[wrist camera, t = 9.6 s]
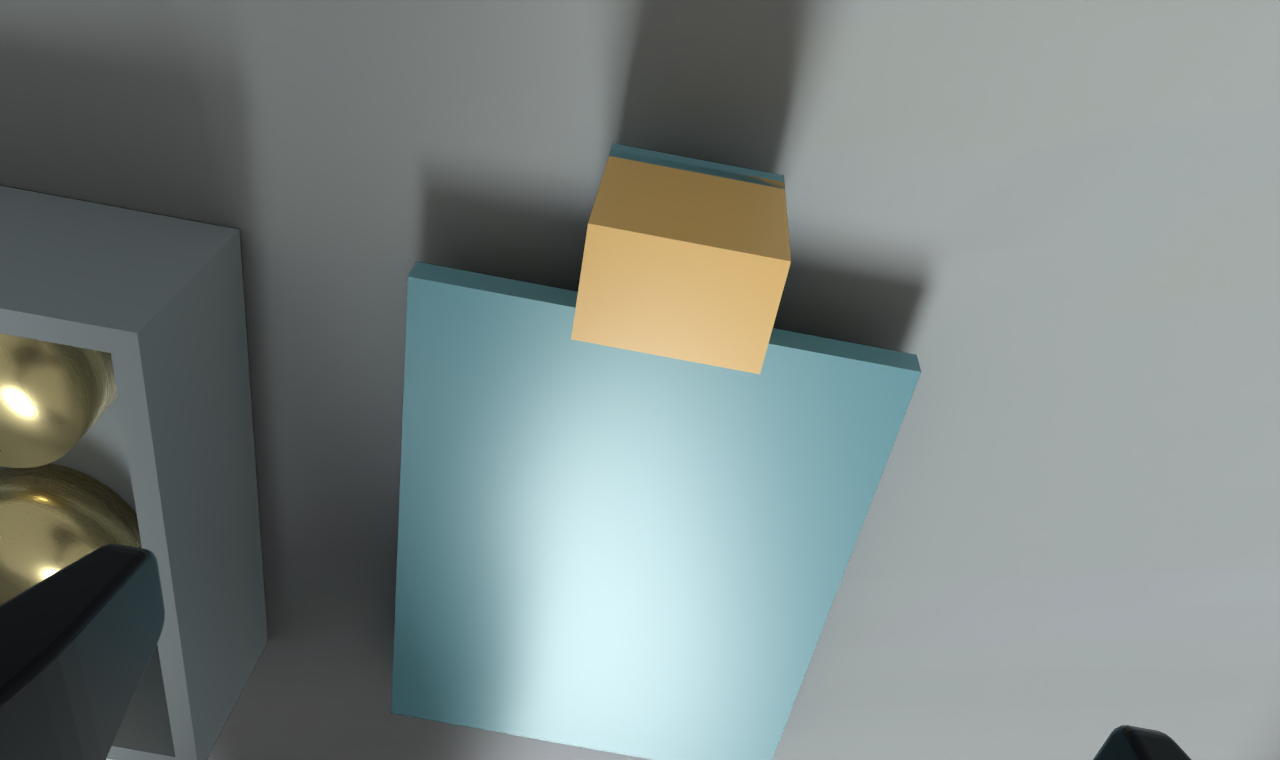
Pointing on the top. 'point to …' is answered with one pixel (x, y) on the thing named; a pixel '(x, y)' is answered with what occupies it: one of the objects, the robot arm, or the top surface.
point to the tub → (159, 433)
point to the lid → (632, 478)
